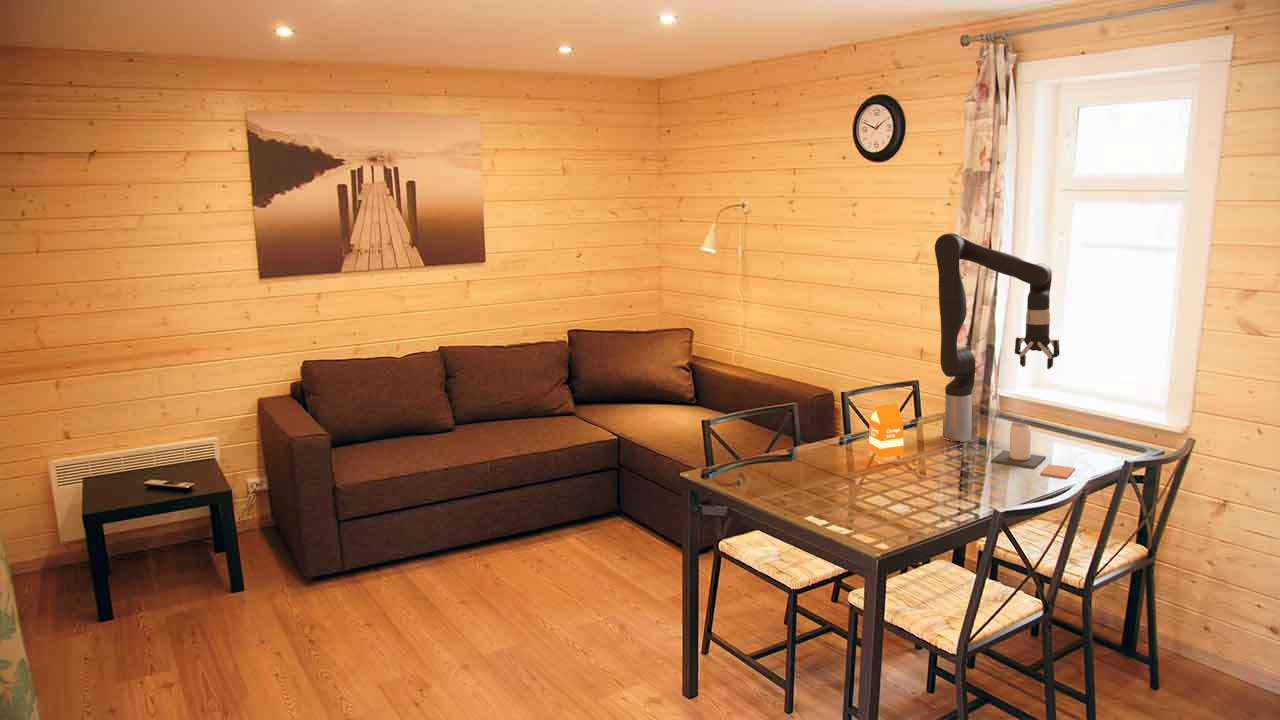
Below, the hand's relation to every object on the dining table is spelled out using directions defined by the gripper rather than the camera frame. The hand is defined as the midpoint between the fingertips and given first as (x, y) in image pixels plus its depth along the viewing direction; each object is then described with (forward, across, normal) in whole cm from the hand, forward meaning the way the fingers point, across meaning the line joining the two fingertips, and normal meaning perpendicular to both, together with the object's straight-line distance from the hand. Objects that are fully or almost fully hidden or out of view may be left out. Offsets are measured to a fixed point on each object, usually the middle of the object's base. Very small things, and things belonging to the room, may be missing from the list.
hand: (1036, 367), depth 315 cm
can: (+28, +1, -20) cm, 34 cm away
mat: (+28, +1, -20) cm, 35 cm away
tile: (+28, +15, -21) cm, 38 cm away
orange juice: (+28, -37, -41) cm, 62 cm away
